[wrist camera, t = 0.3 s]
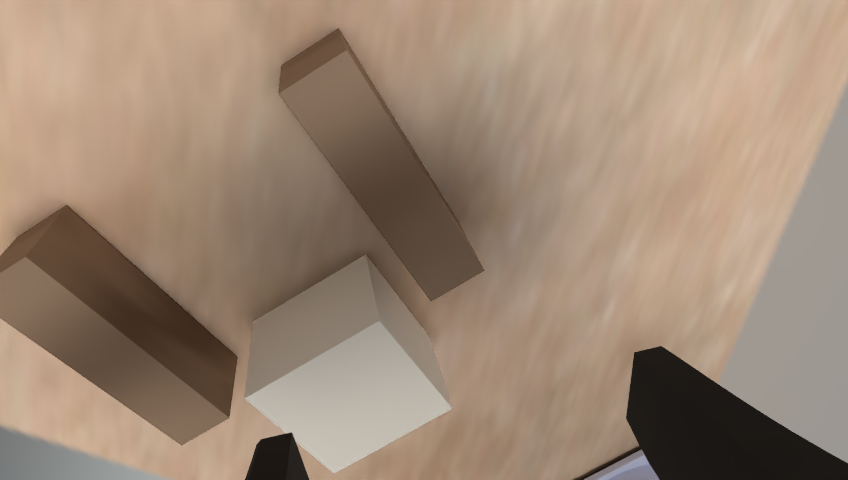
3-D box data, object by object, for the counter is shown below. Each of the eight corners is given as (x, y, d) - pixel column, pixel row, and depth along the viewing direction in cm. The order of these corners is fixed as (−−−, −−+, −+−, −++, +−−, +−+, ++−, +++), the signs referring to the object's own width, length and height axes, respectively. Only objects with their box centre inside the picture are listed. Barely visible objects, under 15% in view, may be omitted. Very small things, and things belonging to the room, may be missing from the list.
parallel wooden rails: (460, 225, 20) (484, 270, 17) (195, 382, 21) (181, 445, 19) (338, 28, 16) (346, 49, 13) (16, 238, 17) (-34, 294, 14)
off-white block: (429, 335, 23) (452, 408, 19) (328, 392, 23) (333, 473, 20) (365, 252, 20) (379, 320, 17) (253, 319, 20) (244, 398, 17)
